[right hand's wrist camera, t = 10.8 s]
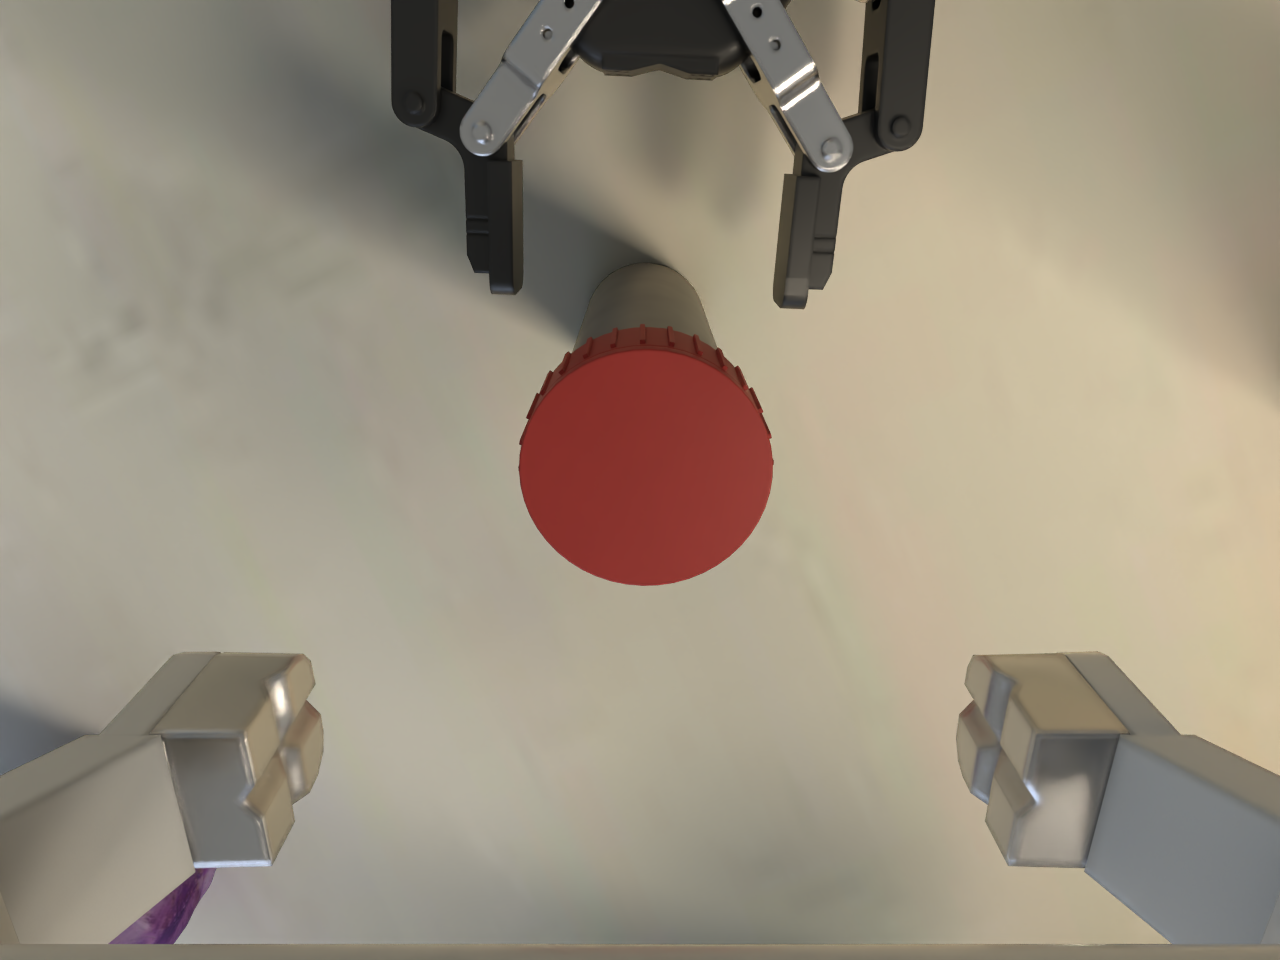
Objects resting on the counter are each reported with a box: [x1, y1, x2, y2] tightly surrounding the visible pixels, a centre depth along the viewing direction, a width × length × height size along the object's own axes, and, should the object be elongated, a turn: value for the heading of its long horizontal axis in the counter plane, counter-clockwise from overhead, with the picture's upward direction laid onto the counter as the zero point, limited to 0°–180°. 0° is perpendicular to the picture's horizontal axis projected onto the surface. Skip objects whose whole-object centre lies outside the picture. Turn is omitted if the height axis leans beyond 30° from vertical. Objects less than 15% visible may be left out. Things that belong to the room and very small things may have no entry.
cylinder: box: [572, 263, 717, 353], centre depth 25 cm, size 4×4×16 cm
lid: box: [519, 324, 774, 586], centre depth 18 cm, size 5×5×2 cm
